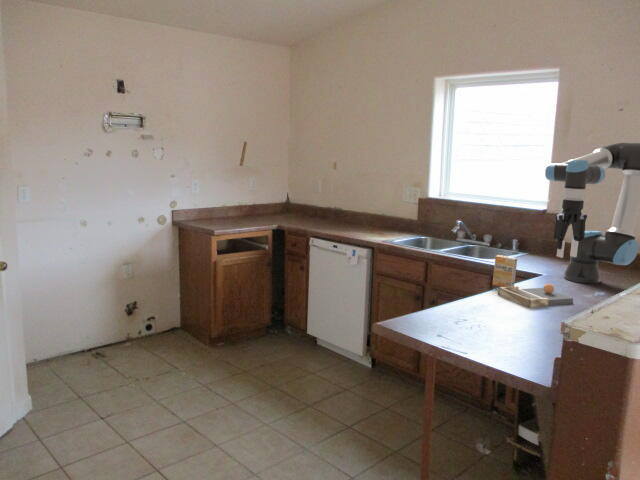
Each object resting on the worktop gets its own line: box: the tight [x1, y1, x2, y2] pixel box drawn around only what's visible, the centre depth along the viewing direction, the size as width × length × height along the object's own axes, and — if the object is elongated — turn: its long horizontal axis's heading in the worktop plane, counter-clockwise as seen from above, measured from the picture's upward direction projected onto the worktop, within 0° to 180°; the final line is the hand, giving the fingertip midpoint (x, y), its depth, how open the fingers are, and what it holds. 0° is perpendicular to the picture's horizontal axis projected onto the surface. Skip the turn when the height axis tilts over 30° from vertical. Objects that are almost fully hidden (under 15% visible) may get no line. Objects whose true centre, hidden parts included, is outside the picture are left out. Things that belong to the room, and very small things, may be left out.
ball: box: [542, 283, 555, 294], centre depth 211 cm, size 4×4×4 cm
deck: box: [518, 287, 574, 306], centre depth 211 cm, size 13×16×2 cm
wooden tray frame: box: [497, 285, 549, 308], centre depth 208 cm, size 9×18×3 cm, turn 19°
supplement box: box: [492, 254, 518, 287], centre depth 227 cm, size 8×5×13 cm, turn 52°
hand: (566, 256), depth 211 cm, fingers open, 6 cm apart
